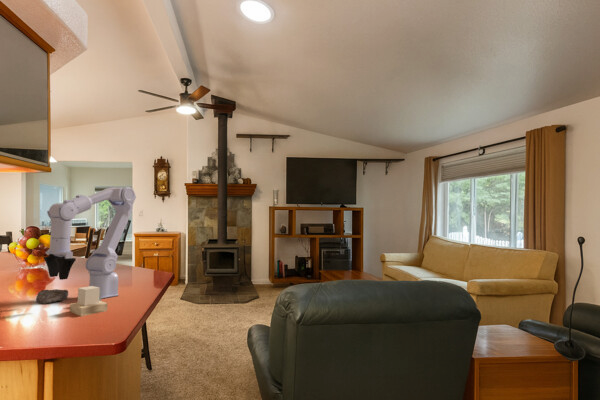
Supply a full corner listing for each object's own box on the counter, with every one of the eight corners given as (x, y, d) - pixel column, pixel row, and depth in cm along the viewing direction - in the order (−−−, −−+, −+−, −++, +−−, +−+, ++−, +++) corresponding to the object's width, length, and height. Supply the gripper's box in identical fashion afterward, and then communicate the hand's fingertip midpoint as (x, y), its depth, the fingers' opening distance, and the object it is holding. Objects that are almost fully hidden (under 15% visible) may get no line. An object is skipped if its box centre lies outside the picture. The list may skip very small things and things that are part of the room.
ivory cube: (91, 300, 118) (92, 285, 118) (98, 302, 115) (99, 287, 116) (77, 303, 114) (78, 288, 114) (84, 305, 111) (85, 289, 112)
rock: (69, 297, 133) (70, 286, 133) (58, 304, 122) (59, 292, 123) (42, 298, 130) (43, 287, 131) (29, 305, 120) (29, 294, 120)
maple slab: (95, 308, 120) (95, 299, 120) (107, 312, 115) (107, 302, 116) (69, 313, 113) (70, 303, 114) (80, 317, 109) (81, 307, 109)
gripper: (38, 237, 120) (35, 276, 119) (56, 239, 112) (54, 282, 111) (61, 236, 126) (59, 274, 125) (80, 238, 118) (78, 279, 117)
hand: (58, 277), depth 119 cm, fingers open, 7 cm apart
